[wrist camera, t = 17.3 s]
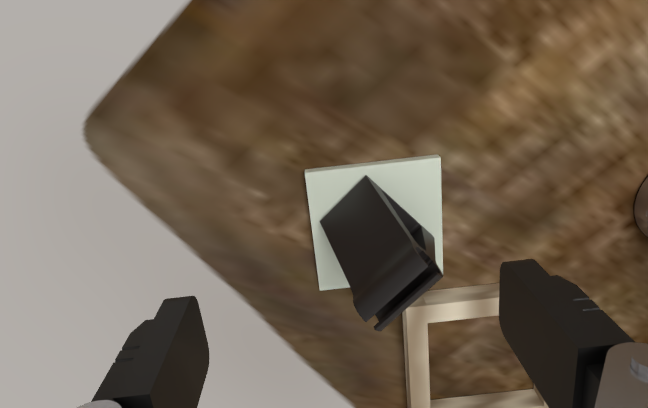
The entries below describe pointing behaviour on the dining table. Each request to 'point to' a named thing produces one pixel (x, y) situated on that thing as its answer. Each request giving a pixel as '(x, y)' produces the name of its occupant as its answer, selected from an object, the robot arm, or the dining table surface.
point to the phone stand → (380, 252)
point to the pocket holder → (428, 309)
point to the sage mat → (392, 177)
